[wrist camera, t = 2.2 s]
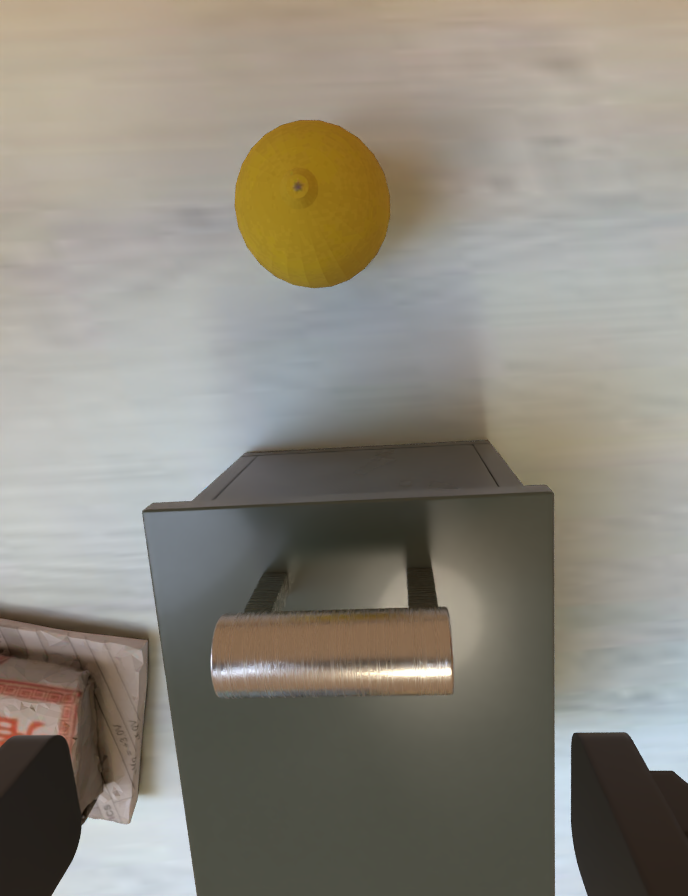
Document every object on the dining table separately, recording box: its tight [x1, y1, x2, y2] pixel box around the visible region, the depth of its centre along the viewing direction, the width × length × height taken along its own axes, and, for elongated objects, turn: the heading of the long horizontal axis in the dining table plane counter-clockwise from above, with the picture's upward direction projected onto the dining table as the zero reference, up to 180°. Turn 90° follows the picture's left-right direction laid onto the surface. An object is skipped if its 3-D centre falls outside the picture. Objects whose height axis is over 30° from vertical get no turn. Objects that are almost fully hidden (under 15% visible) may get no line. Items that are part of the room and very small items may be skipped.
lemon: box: [235, 120, 390, 288], centre depth 22 cm, size 6×6×8 cm
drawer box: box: [192, 440, 523, 501], centre depth 24 cm, size 15×11×11 cm
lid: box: [142, 485, 555, 896], centre depth 16 cm, size 16×11×5 cm
